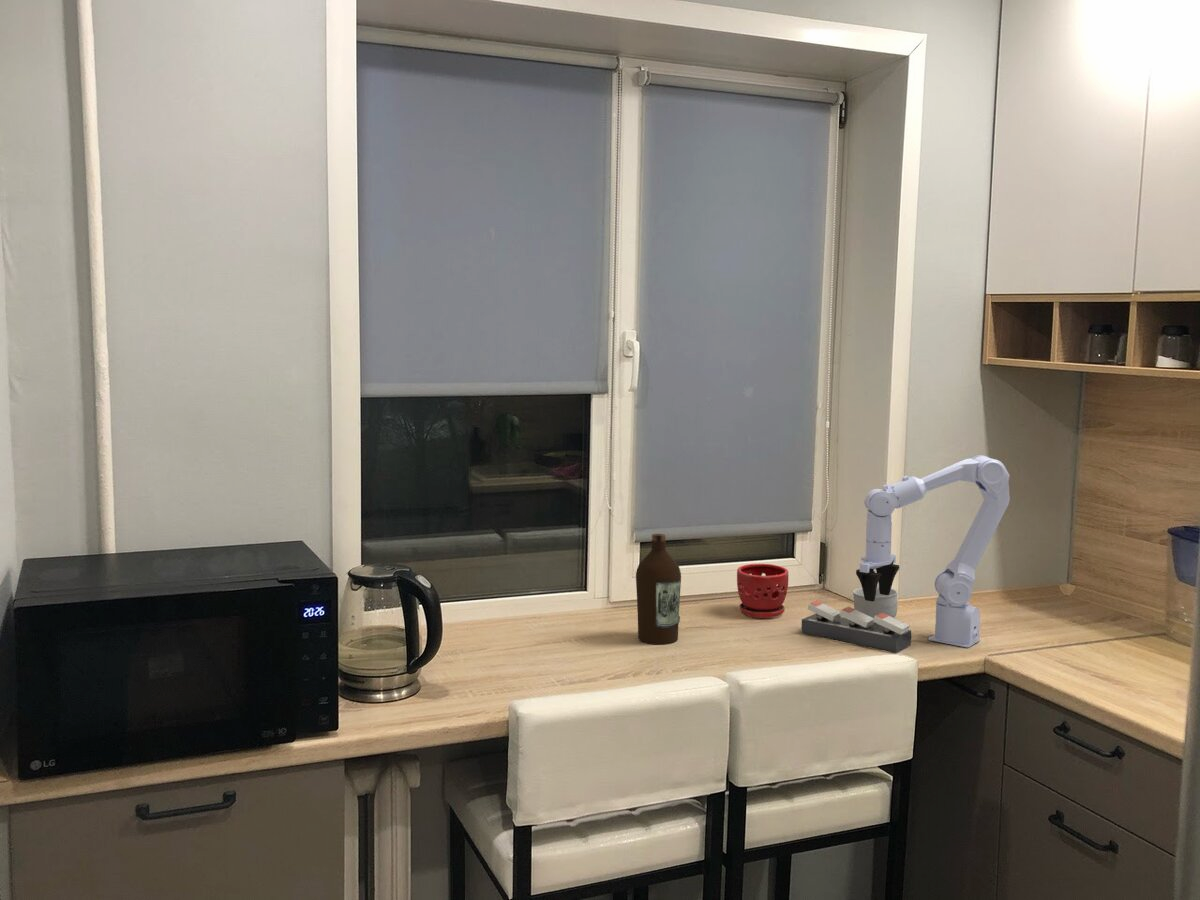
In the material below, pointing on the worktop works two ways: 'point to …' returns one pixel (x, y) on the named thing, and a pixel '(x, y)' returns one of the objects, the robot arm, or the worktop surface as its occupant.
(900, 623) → the block
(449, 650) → the worktop surface
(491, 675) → the worktop surface
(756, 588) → the plant pot
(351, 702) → the worktop surface
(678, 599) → the olive oil
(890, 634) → the switch panel
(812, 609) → the rocker
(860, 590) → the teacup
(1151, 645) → the worktop surface
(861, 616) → the block
